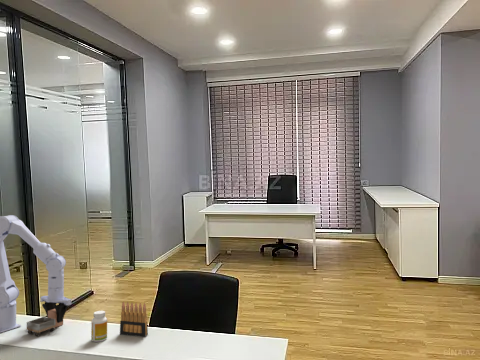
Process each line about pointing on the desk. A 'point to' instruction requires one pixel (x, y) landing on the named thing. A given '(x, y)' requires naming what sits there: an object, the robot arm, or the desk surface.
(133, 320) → the ammunition clip
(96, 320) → the supplement bottle
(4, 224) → the robot arm
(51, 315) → the block
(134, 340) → the desk surface
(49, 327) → the cart
